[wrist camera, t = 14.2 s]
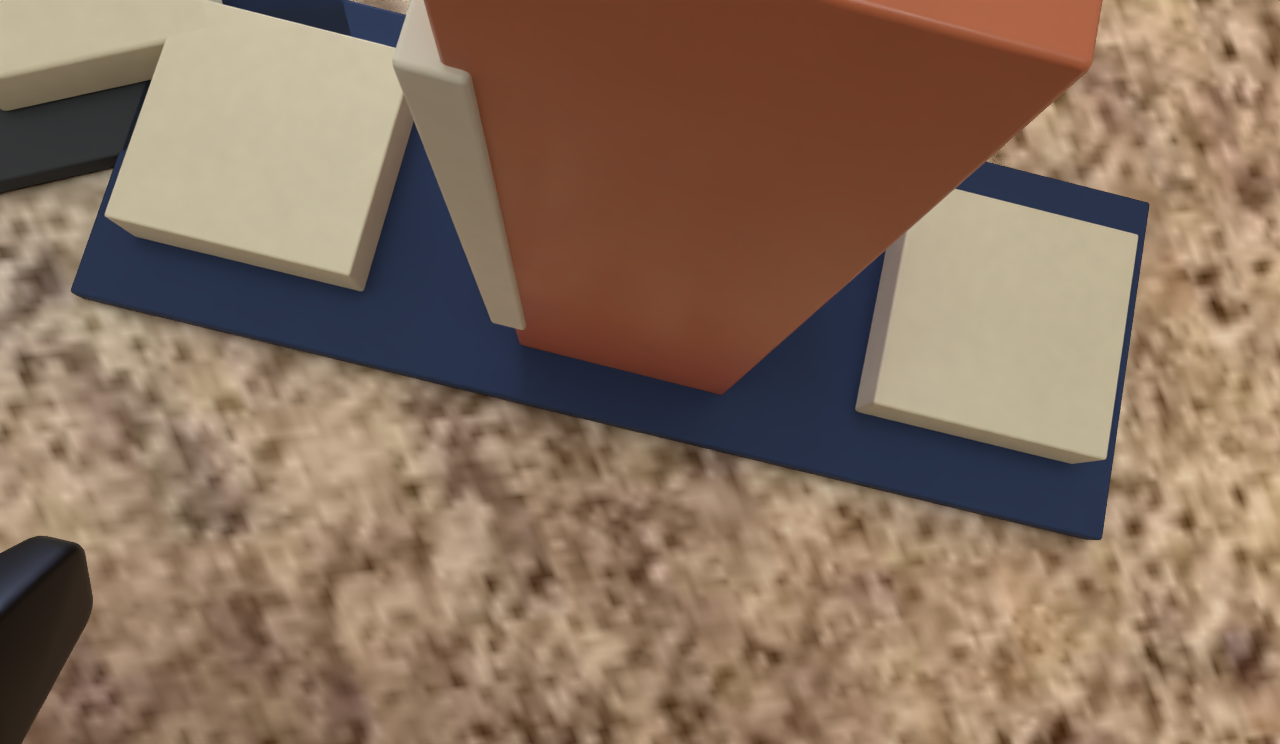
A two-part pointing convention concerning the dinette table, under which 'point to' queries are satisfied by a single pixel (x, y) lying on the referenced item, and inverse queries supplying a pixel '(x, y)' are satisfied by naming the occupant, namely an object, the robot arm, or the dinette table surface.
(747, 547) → the dinette table surface
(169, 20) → the dark grey base plate
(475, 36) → the upright orange brick
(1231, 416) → the dinette table surface
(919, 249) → the blue tile board
